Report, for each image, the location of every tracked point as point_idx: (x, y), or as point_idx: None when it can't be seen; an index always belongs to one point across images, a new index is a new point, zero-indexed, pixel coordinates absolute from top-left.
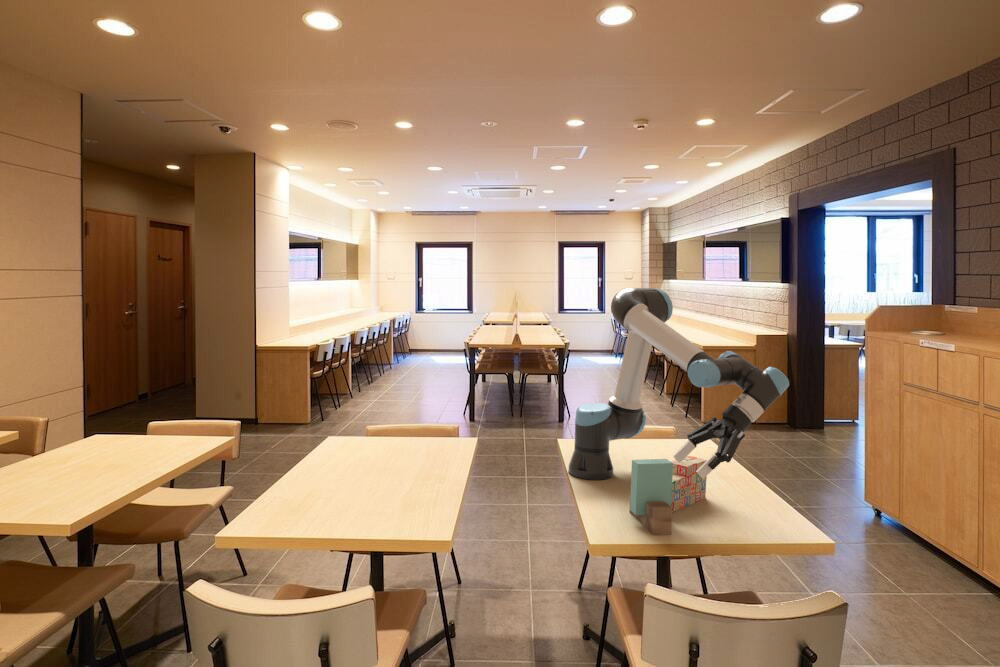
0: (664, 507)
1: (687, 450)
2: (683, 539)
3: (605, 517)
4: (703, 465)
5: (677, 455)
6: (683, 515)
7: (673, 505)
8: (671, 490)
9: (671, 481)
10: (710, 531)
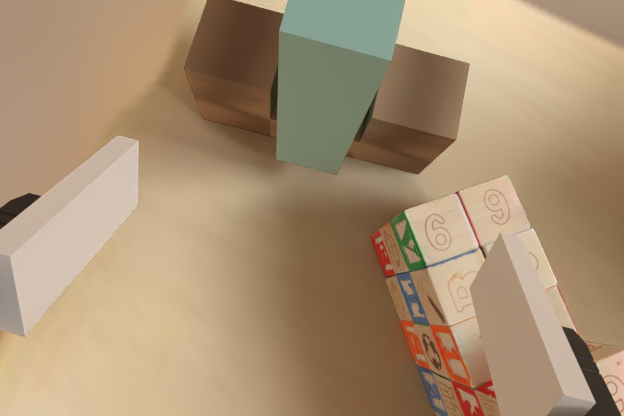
0: (203, 40)
1: (508, 356)
2: (147, 127)
3: (412, 8)
4: (82, 168)
5: (500, 261)
6: (336, 290)
7: (391, 276)
8: (277, 117)
9: (279, 93)
10: (160, 276)
